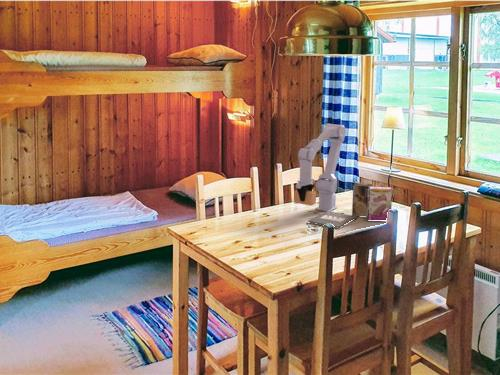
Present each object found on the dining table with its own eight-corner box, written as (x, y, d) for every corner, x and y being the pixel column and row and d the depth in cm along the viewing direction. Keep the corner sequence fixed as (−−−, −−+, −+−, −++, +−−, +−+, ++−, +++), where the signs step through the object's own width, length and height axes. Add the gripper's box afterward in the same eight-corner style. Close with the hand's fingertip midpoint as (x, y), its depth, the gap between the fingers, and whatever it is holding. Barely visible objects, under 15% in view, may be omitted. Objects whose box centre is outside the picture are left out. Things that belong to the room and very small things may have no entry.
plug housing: (298, 200, 283) (298, 188, 281) (315, 203, 278) (316, 191, 276) (294, 202, 279) (294, 190, 278) (311, 205, 274) (311, 193, 272)
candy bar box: (367, 221, 272) (369, 188, 268) (366, 218, 277) (368, 186, 273) (390, 222, 271) (393, 189, 267) (389, 219, 276) (391, 187, 272)
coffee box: (371, 214, 284) (373, 183, 280) (370, 218, 278) (371, 186, 274) (353, 213, 287) (354, 182, 283) (351, 216, 281) (352, 185, 277)
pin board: (327, 213, 286) (327, 204, 285) (356, 218, 277) (357, 209, 276) (308, 223, 270) (308, 213, 269) (338, 229, 261) (339, 219, 260)
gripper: (305, 169, 283) (304, 195, 286) (291, 174, 271) (290, 201, 274) (318, 171, 279) (317, 197, 282) (303, 176, 267) (303, 204, 270)
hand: (304, 199), depth 278 cm, fingers closed on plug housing, 5 cm apart
